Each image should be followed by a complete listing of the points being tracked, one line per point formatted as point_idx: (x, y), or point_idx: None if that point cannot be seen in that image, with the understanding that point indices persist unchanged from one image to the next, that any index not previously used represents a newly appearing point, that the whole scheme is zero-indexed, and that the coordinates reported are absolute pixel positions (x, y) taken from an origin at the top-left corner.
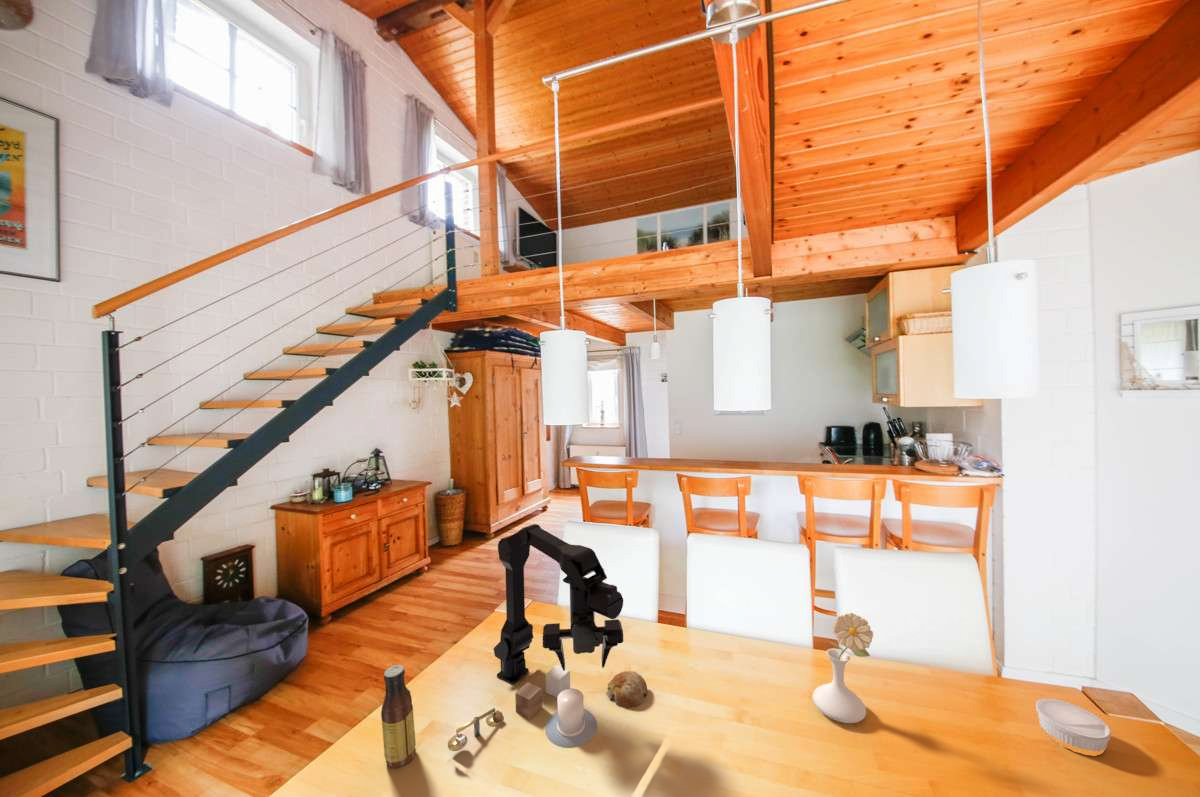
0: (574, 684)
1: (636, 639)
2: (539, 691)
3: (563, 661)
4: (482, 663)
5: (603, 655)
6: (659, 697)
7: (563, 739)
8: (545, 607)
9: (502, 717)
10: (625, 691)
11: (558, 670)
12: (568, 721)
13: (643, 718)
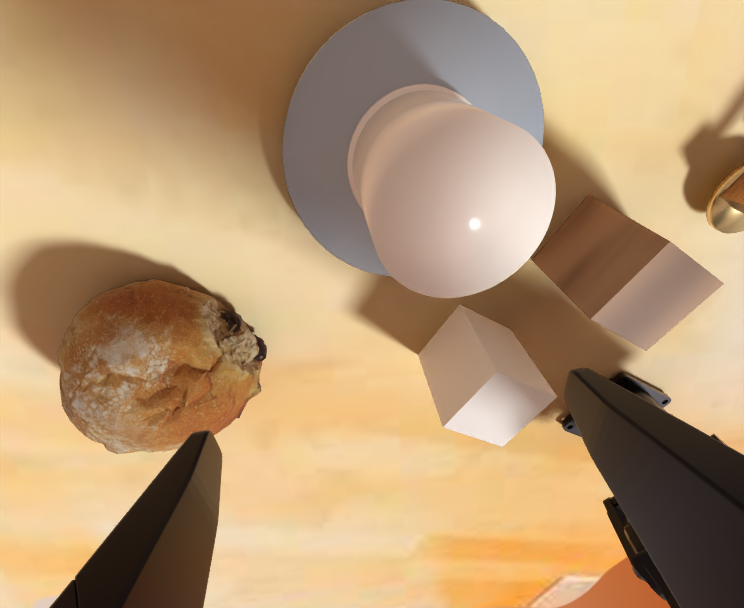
0: (403, 389)
1: None
2: (599, 303)
3: (662, 441)
4: None
5: (131, 581)
6: (24, 359)
7: (456, 68)
8: (490, 602)
9: (717, 204)
10: (139, 343)
11: (495, 421)
12: (452, 100)
13: (61, 242)
